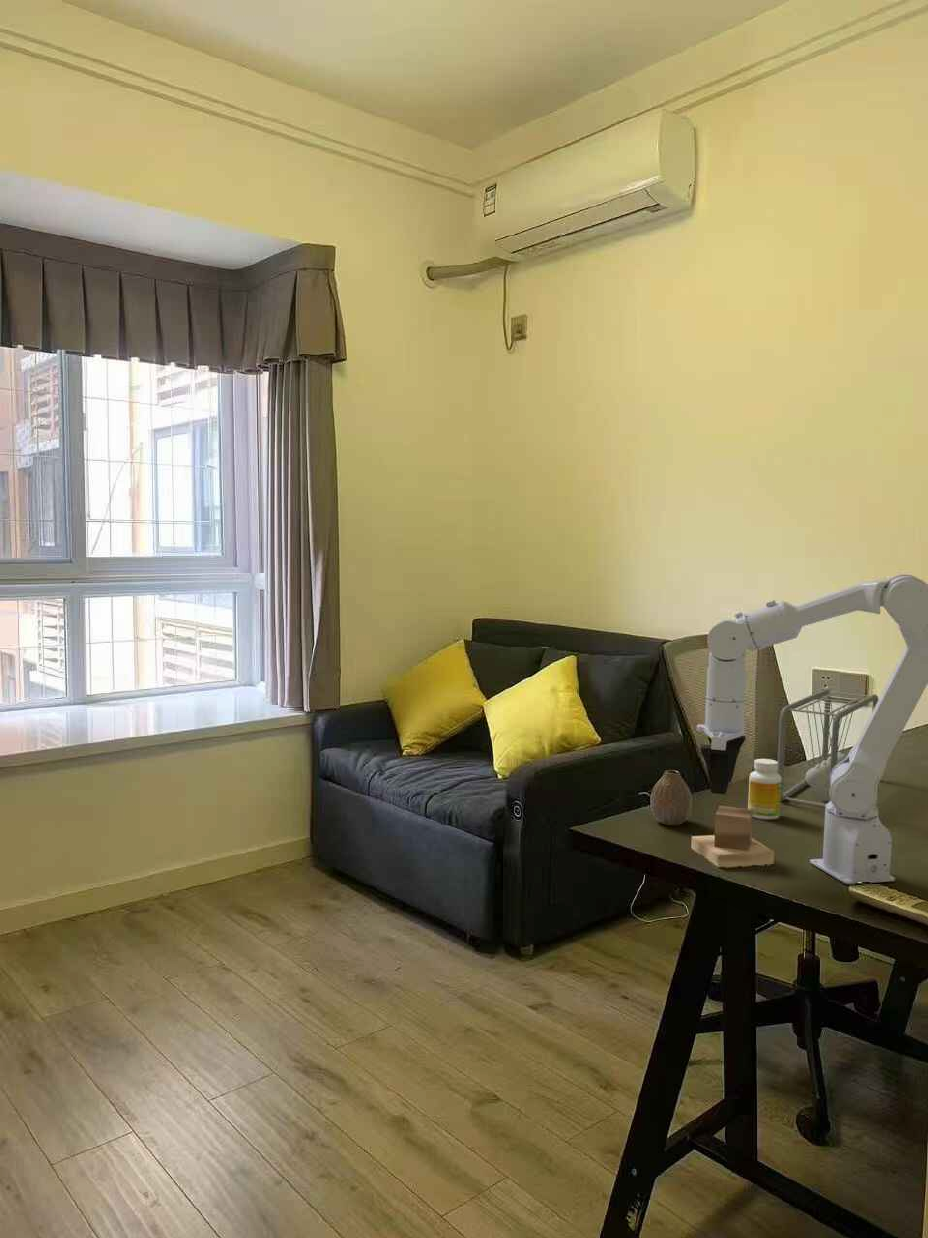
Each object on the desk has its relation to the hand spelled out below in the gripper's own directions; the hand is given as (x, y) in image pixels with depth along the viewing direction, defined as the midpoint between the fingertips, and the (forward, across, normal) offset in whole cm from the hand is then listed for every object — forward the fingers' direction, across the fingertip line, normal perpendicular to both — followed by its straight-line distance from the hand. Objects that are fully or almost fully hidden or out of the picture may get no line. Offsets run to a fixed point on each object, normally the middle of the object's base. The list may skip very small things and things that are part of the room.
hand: (721, 787), depth 150 cm
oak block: (+11, 0, +2) cm, 11 cm away
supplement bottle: (+11, -25, +5) cm, 27 cm away
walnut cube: (+9, 0, +2) cm, 9 cm away
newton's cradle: (+11, -48, +15) cm, 51 cm away
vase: (+11, -14, -10) cm, 20 cm away
